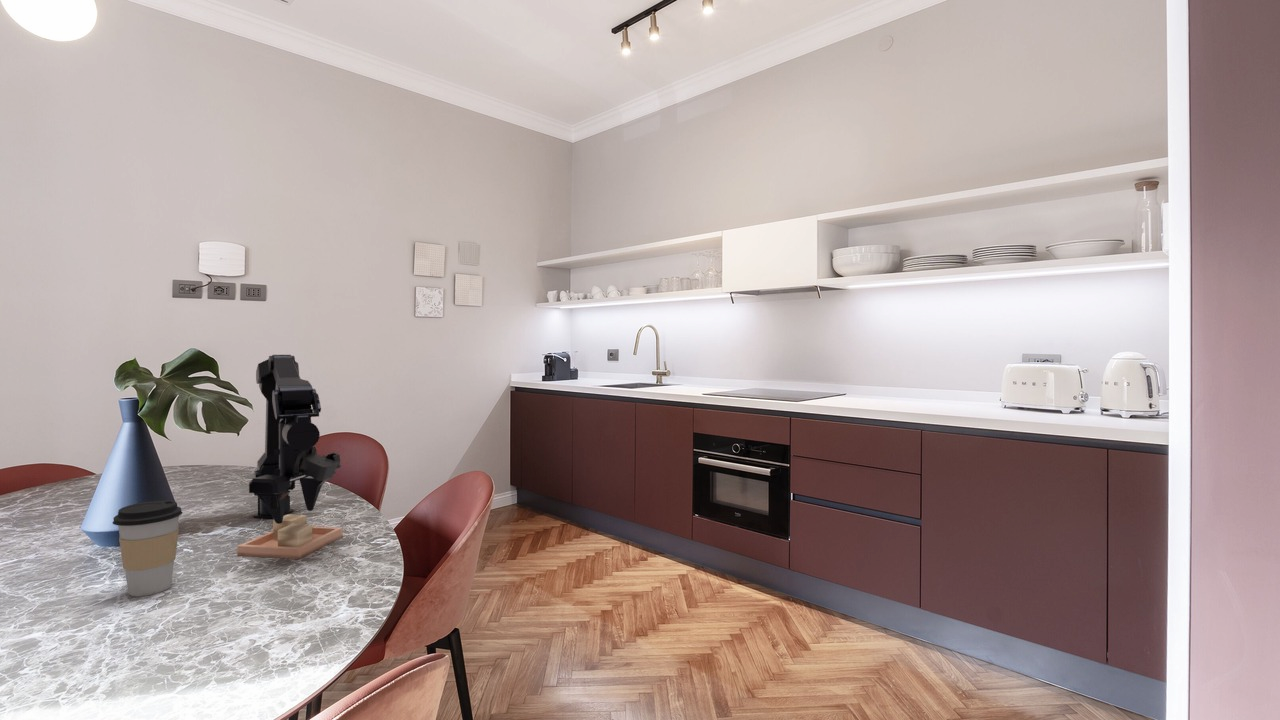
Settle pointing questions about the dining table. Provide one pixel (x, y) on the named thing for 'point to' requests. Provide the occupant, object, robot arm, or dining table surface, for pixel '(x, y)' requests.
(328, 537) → the tray
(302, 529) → the block
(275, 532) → the block
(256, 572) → the dining table surface
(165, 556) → the coffee cup
